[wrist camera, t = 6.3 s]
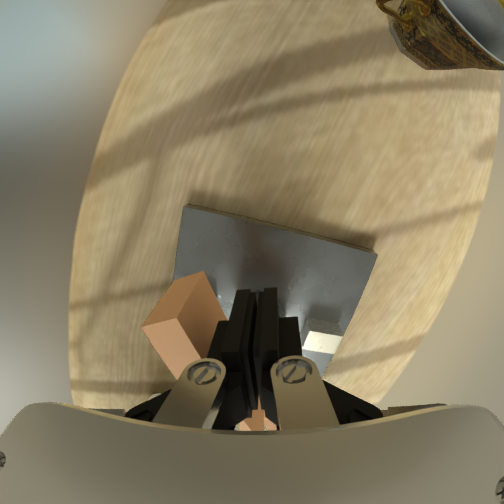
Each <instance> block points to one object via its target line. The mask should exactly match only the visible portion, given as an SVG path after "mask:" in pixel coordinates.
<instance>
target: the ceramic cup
mask: <svg viewBox="0 0 504 504" xmlns="http://www.w3.org/2000/svg"><path fill="white" fill-rule="evenodd" d="M388 1H391V0H376V4H377V6H378V7H379V8H380V9H381V10H382V11H383V12H385V13H387V14H389V15H391V16H392V17H394V19H393V21H392V23H391V25H390V31H391V33H392V35H393V37H394V39H395V41H396V43H397V45H398V47H399V50H400V51H401V52H402V53H403V54H405V55H406V56H407V57H409V58H410V59H411V60H413V61H414V62H415V63H417V64H418V65H419V66H421V67H422V68H423V69H426V70H449V69H462V68H478V69H485V70H504V0H402V3H401V5H400V7H399V9H398V11H397V12H395V11H394V10H392V9H390V8H389V7H387V6H385V5H384V3H386V2H388Z"/></svg>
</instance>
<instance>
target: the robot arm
mask: <svg viewBox="0 0 504 504" xmlns="http://www.w3.org/2000/svg"><path fill="white" fill-rule="evenodd" d="M259 398H260V404H261V410H264V411H265V417H266V418H267V419H269V420H270V421H271V422H273V423H274V424H275V425H276V430H271V431H239V430H240V422H242V421H243V420H244V419H246V418H252V410H257V409H258V399H259ZM0 504H504V425H503V424H502V422H501V421H500V420H499V419H498V418H497V416H496V415H495V414H493V413H492V412H491V411H490V410H488V409H486V408H484V407H481V406H476V405H446V404H428V405H417V406H401V407H388V409H387V410H380V409H378V408H377V407H376V406H374V405H372V404H370V403H368V402H366V401H364V400H362V399H360V398H358V397H355V396H353V395H351V394H349V393H347V392H345V391H343V390H341V389H339V388H337V387H335V386H334V385H332V384H330V383H328V382H326V381H324V380H322V378H321V375H320V373H319V370H318V368H317V366H316V364H315V363H314V362H313V361H312V360H311V359H309V358H307V357H304V356H303V355H302V346H301V338H300V330H299V322H298V316H294V317H280V316H279V303H278V291H277V287H271V288H264V291H263V292H259V296H258V306H257V298H256V292H251V290H250V289H242V290H237V291H236V295H235V298H234V302H233V306H232V310H231V314H230V317H229V320H221V321H218V323H217V327H216V330H215V333H214V336H213V339H212V342H211V345H210V349H209V352H208V355H207V358H204V359H199V360H196V361H194V362H192V363H190V364H189V365H187V366H186V368H185V369H184V370H183V372H182V373H181V375H180V377H179V378H178V380H177V382H176V383H175V385H174V387H173V388H172V389H170V390H168V391H166V392H164V393H162V394H160V395H158V396H156V397H154V398H152V399H150V400H148V401H146V402H144V403H142V404H140V405H137V406H135V407H133V408H132V409H130V410H129V411H128V412H126V411H125V410H124V409H90V408H83V407H79V406H75V405H69V404H64V403H55V402H44V403H43V402H42V403H34V404H30V405H28V406H26V407H24V408H23V409H22V410H21V411H20V412H19V413H18V414H17V415H16V416H15V417H14V419H13V420H12V421H11V422H10V423H9V425H8V426H7V427H6V429H5V430H4V432H3V433H2V434H1V436H0Z"/></svg>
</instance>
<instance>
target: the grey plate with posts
mask: <svg viewBox="0 0 504 504" xmlns="http://www.w3.org/2000/svg"><path fill="white" fill-rule="evenodd" d="M377 256H378V255H377V254H376V253H375V252H374V251H373V250H371V249H367V248H364V247H360V246H357V245H353V244H349V243H346V242H342V241H338V240H335V239H331V238H327V237H323V236H319V235H316V234H312V233H308V232H304V231H300V230H296V229H292V228H288V227H284V226H280V225H276V224H272V223H268V222H264V221H260V220H256V219H252V218H248V217H243V216H239V215H235V214H231V213H226V212H222V211H217V210H213V209H209V208H204V207H200V206H195V205H191V204H187V205H185V206H184V207H183V212H182V219H181V225H180V232H179V239H178V246H177V254H176V262H175V270H174V279H173V282H174V280H177V279H180V278H183V277H186V276H189V275H192V274H195V273H198V272H201V271H204V273H205V275H206V277H207V279H208V281H209V283H210V285H211V287H212V289H213V292H214V294H215V296H216V298H217V300H218V302H219V304H220V306H221V308H222V310H223V312H224V314H225V316H226V318H227V320H229V317H230V314H231V310H232V306H233V302H234V298H235V295H236V291H237V290H242V289H250V290H251V292H256V298H257V306H258V296H259V292H263V291H264V288H271V287H277V291H278V303H279V316H280V317H294V316H298V322H299V330H300V338H301V346H302V355H303V356H304V357H307V358H309V359H311V360H312V361H313V362H314V363H315V364H316V366H317V368H318V370H319V373H320V375H321V377H322V375H323V373H324V372H325V370H326V368H327V366H328V364H329V362H330V361H331V359H332V357H333V355H334V353H335V351H336V349H337V347H338V345H339V343H340V342H341V339H342V337H343V335H344V333H345V331H346V329H347V327H348V325H349V322H350V320H351V318H352V316H353V314H354V312H355V309H356V307H357V305H358V303H359V300H360V298H361V296H362V293H363V291H364V289H365V286H366V284H367V281H368V279H369V277H370V274H371V271H372V269H373V266H374V264H375V261H376V259H377Z"/></svg>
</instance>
